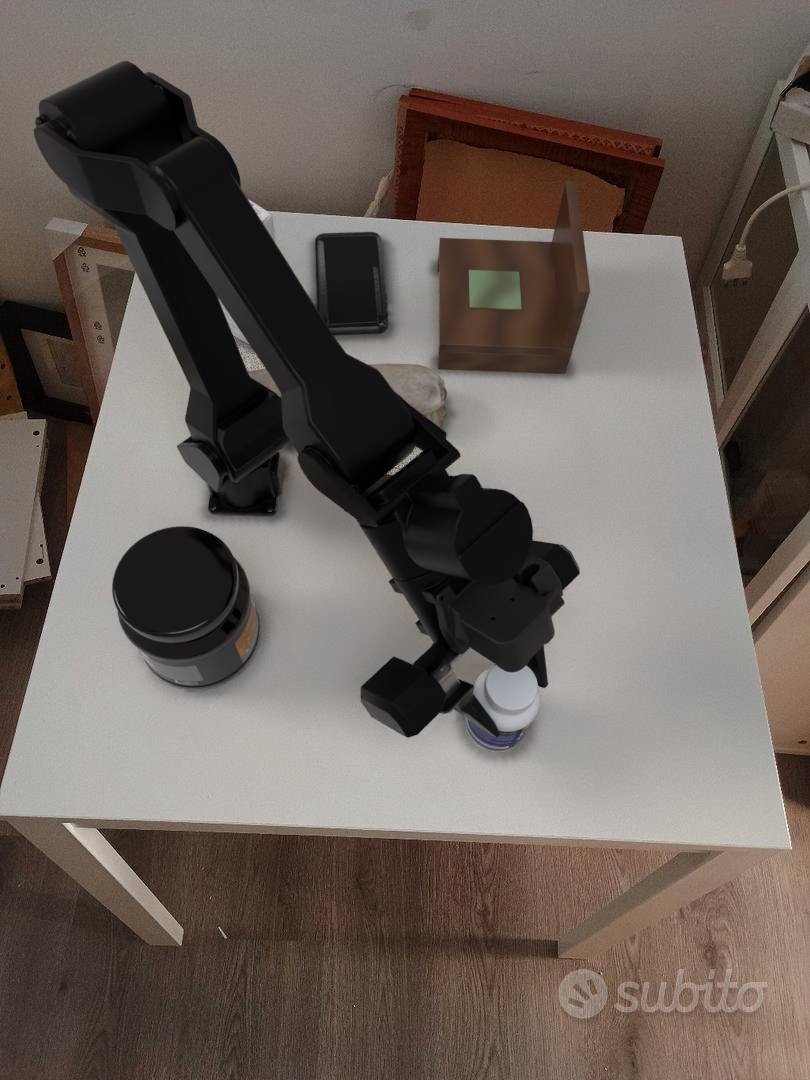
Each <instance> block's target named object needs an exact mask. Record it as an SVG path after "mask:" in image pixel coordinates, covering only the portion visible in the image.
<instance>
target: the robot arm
mask: <svg viewBox="0 0 810 1080" xmlns="http://www.w3.org/2000/svg"><path fill="white" fill-rule="evenodd" d="M195 113H196V112H195V109H194V106H193V101H192V97H191V96H190V95H189V94H188V93H186V92H185V91H183V90H181V89H180V88H178V87H176V86H175V85H174V84H172V83H170V82H169V81H168V80H165V79H164V78H163V77H161V76H160V75H158V74H156V73H154V72H152V71H146V72H143V70H142V69H141V68H139V67H138V66H137V64H135V63H133V62H131V61H129V60H122V61H120V62H118V63H116V64H113V65H111V66H109V67H107V68H105V69H103V70H100V71H98V72H96V73H94V74H92V75H90V76H88V77H86V78H84V79H82V80H79V81H77V82H76V83H74V84H72V85H69V86H68V87H65V88H63V89H61V90H59V91H57V92H55V93H52V94H50V95H49V96H46V97H44V98H42V99H40V101H39V103H38V116H36V117H35V120H34V124H35V127H34V129H33V137H34V140H35V143H36V146H37V147H38V149H39V152H40V154H41V155H42V157H43V159H44V161H45V162H46V163H47V166H48V167H49V168H50V169H51V170H52V172H53V173H54V174H55V176H56V177H57V178H59V179H60V180H61V181H62V182H63V183H64V184H65V185H66V186H67V188H68V190H69V192H70V194H71V195H72V196H73V197H74V198H75V199H77V200H78V201H80V202H81V203H83V204H84V205H86V206H87V207H89V208H90V209H92V211H94V212H96V213H97V214H99V215H100V216H102V217H103V218H104V219H106V220H107V221H108V222H110V223H111V224H112V226H113V228H114V230H115V232H116V234H117V236H118V238H119V240H120V243H121V245H122V247H123V248H124V251H125V252H126V255H127V257H128V259H129V261H130V263H131V265H132V267H133V270H134V272H135V274H136V275H137V278H138V280H139V282H140V284H141V286H142V288H143V291H144V292H145V295H146V296H147V300H148V301H149V303H150V305H151V307H152V309H153V311H154V313H155V316H156V318H157V320H158V322H159V324H160V325H161V326H160V327H161V328H162V330H163V332H164V334H165V337H166V339H167V341H168V343H169V345H170V348H171V349H172V351H173V354H174V356H175V358H176V361H177V362H178V364H179V366H180V368H181V371H182V373H183V375H184V377H185V379H186V381H187V383H188V385H189V387H190V388H189V389H190V390H189V394H188V400H187V405H186V411H185V417H184V421H185V424H186V427H187V429H188V432H189V435H190V436H189V437H187V438H186V439H184V440H183V441H182V442H180V443H178V444H177V445H176V448H177V450H178V452H179V454H180V455H181V457H182V459H183V461H184V463H185V464H186V465H187V466H188V467H189V468H190V469H191V470H193V472H195V474H197V476H198V477H199V478H201V479H202V480H203V481H204V482H205V483H206V485H207V487H208V488H207V489H208V491H209V494H210V495H209V499H208V505H207V510H208V512H209V514H211V515H223V516H224V515H225V516H226V515H227V516H255V517H257V516H259V517H272V516H275V514H276V513H277V506H278V505H277V504H278V498H279V497H281V496H282V495H283V487H284V486H283V485H284V475H285V474H284V468H283V462H282V456H281V452H280V451H281V450H283V449H285V448H286V447H287V446H288V445H290V444H291V443H292V446H293V448H294V450H295V451H296V453H297V456H296V458H297V463H298V466H299V468H300V470H301V472H302V474H303V475H304V476H305V477H306V479H307V480H308V482H309V483H310V484H311V485H312V486H313V487H314V488H315V489H316V490H317V491H318V492H320V493H321V494H322V495H323V496H325V497H326V498H327V499H329V500H330V501H331V502H332V503H333V504H335V505H336V506H338V507H339V508H340V509H342V510H343V512H345V513H347V514H348V515H350V516H351V517H352V518H354V519H355V520H356V522H357V523H358V525H359V527H360V528H361V530H362V531H363V533H364V535H365V537H366V538H367V540H368V541H369V543H370V545H371V546H372V548H373V549H374V550H375V553H376V554H377V555H378V557H379V558H380V561H381V562H382V564H383V565H384V567H385V568H386V570H387V571H388V573H389V574H390V576H391V578H390V579H389V580H388V583H389V585H390V586H391V588H392V590H393V591H394V592H395V593H397V594H400V595H403V597H404V598H405V600H406V601H407V603H408V604H409V606H410V607H411V609H412V611H413V613H414V614H415V615H416V617H417V619H418V620H417V621H415V622H414V624H415V626H416V627H417V629H418V630H419V632H420V634H422V635H425V636H428V637H429V638H430V640H431V641H432V642H433V643H432V644H431V645H430V647H429V648H427V649H426V650H425V652H423V653H422V654H421V655H420V656H419V657H418V658H417V659H416V660H414V662H413V663H411V662H409V661H406V660H403V659H401V658H399V657H397V656H394V655H393V656H392V657H391V658H390V659H389V660H388V661H386V663H384V664H383V665H382V666H381V667H380V668H379V669H378V670H377V671H376V672H375V673H374V674H373V675H371V676H370V677H369V678H368V679H367V680H366V681H365V682H364V683H363V684H362V685H360V703H361V704H362V706H363V708H364V709H365V710H366V712H367V713H368V714H369V716H370V717H371V718H373V720H376V721H377V722H379V723H381V724H382V725H385V726H386V727H388V728H389V729H392V730H393V731H395V732H396V733H398V734H400V735H402V736H403V737H405V738H407V739H409V738H412V737H416V736H418V735H419V734H421V732H422V731H423V730H424V729H425V728H426V727H428V726H429V724H430V723H431V722H432V721H433V720H434V719H436V717H437V716H438V715H439V714H442V715H447V714H449V713H451V712H452V711H453V710H454V711H455V712H456V713H458V714H459V715H461V716H462V717H464V719H465V718H467V719H468V720H470V721H471V722H473V723H474V724H476V725H477V726H478V727H480V728H481V729H483V730H484V731H486V732H487V733H488V734H490V735H492V736H494V737H496V738H498V737H499V736H500V732H499V730H498V728H497V726H496V724H495V722H494V721H493V719H492V718H491V717H490V715H489V714H488V713H487V711H486V710H485V709H484V707H483V706H482V705H481V703H480V702H479V701H478V699H477V698H476V697H475V695H474V694H473V691H474V685H475V684H472V683H470V682H468V681H466V680H463V679H461V678H458V676H457V675H456V673H455V672H454V669H453V666H454V665H455V664H456V663H457V662H458V661H459V660H460V659H461V658H463V656H464V655H465V654H467V653H468V651H470V650H471V649H472V650H473V651H474V652H476V653H477V654H479V655H481V656H482V657H484V658H485V659H487V660H489V661H490V662H492V663H493V664H495V665H497V666H498V667H499V668H501V669H502V670H504V671H506V672H517V671H520V670H521V669H523V668H524V667H525V666H528V667H529V668H530V669H531V670H532V672H533V673H534V675H535V677H536V679H537V684H538V688H539V687H540V688H542V689H546V688H547V687H548V686H549V680H548V671H547V670H548V669H547V661H546V654H545V645H546V644H549V643H550V642H551V641H552V640H553V638H554V637H555V634H556V630H555V626H554V621H553V618H552V617H554V615H555V614H556V613H557V612H558V611H559V610H560V609H561V608H562V607H563V606H564V605H565V600H564V598H563V596H564V591H565V589H566V588H567V587H568V586H569V585H570V584H572V582H573V581H574V580H575V579H576V578H577V577H579V575H580V574H581V570H580V566H579V564H578V562H577V560H576V558H575V556H574V554H573V552H572V551H571V550H570V549H569V548H568V547H566V546H565V545H563V544H560V543H553V542H547V541H540V540H535V539H534V537H533V536H534V528H533V520H532V517H531V514H530V512H529V508H527V506H526V504H525V503H524V502H523V501H521V500H520V499H519V498H517V496H516V495H514V494H513V493H511V492H510V491H507V490H506V489H500V488H490V487H482V484H481V483H480V480H479V479H478V477H477V476H476V475H475V474H472V473H460V474H457V475H449V473H448V471H447V469H448V468H449V467H450V466H452V465H453V464H454V463H455V462H456V461H457V460H459V459H460V458H461V457H462V454H461V452H460V451H459V449H457V448H456V447H455V446H454V445H453V444H452V442H450V441H449V440H448V439H447V435H448V433H447V432H446V431H445V430H444V429H442V428H441V426H440V427H439V426H437V425H436V424H435V423H433V422H432V421H431V420H429V419H428V418H427V417H425V416H424V415H423V414H422V413H420V412H419V411H418V410H416V409H415V408H414V407H412V406H411V405H410V404H408V403H407V402H406V401H405V400H404V399H403V398H402V397H401V396H400V395H398V394H397V393H396V392H394V390H393V389H392V388H391V386H390V385H389V384H388V382H387V381H386V379H385V378H384V377H383V375H382V374H381V373H380V372H379V370H377V369H376V368H374V367H372V366H370V365H368V364H367V363H366V362H364V361H362V360H360V359H358V358H356V357H354V356H352V355H350V354H348V353H347V352H346V350H345V349H344V347H342V345H341V344H340V343H339V341H338V340H337V339H336V337H335V335H333V334H332V332H331V331H330V329H329V327H328V326H327V324H326V323H325V321H324V320H323V318H322V316H321V315H320V313H319V312H318V310H317V306H316V305H315V303H314V302H313V301H312V299H311V297H310V295H309V293H307V291H306V289H305V288H304V286H303V284H302V283H301V282H300V280H299V278H298V277H297V275H296V273H295V272H294V270H293V269H292V267H291V266H290V264H289V262H288V261H287V259H286V258H285V256H284V254H283V253H282V251H281V250H280V249H279V248H280V247H279V246H278V245H277V243H275V242H276V241H275V242H274V240H273V238H272V237H271V235H270V234H269V232H268V231H267V229H266V227H265V226H264V224H263V223H262V221H261V219H260V218H259V216H258V215H257V213H256V211H255V210H254V208H253V207H252V205H251V203H250V202H249V200H250V199H249V198H248V197H247V195H246V194H245V193H244V191H243V189H242V183H241V182H242V181H241V176H240V172H239V169H238V167H237V164H236V162H235V160H234V158H233V157H232V155H231V153H230V152H229V150H228V149H227V148H226V146H225V145H224V144H223V143H222V142H221V141H220V140H219V139H218V138H216V137H215V136H214V135H212V134H211V133H209V132H207V131H206V130H205V129H203V128H201V127H199V125H198V121H197V117H196V114H195ZM248 199H249V200H248ZM217 296H218V297H217ZM218 298H219V299H220V301H221V302H222V304H223V305H224V307H225V308H226V310H227V311H228V313H229V314H230V316H231V317H232V319H233V320H234V322H235V323H236V325H237V326H238V328H239V329H240V331H241V332H242V334H243V335H244V337H245V338H246V340H247V341H248V343H249V344H250V345H249V344H248V345H249V346H250V348H251V349H252V351H253V352H254V353H255V355H256V357H257V358H258V359H259V361H260V362H261V364H262V365H263V367H264V369H266V370H267V371H268V373H269V374H270V376H271V377H272V379H273V381H274V382H275V384H276V386H277V387H278V389H279V391H280V393H281V397H279V396H278V395H277V394H276V393H275V392H273V391H272V390H270V389H269V388H267V387H265V386H264V385H262V384H261V383H259V382H257V381H256V380H254V379H253V378H251V377H250V375H249V373H248V371H249V370H248V369H247V367H246V363H245V362H244V359H243V356H242V353H241V351H240V349H239V347H238V344H237V342H236V339H235V336H234V335H233V334H232V332H231V329H230V327H229V324H228V322H227V319H226V317H225V314H224V312H223V309H222V307H221V304H220V302H219V299H218ZM290 442H291V443H290ZM415 448H418V449H419V450H421V452H420V453H418V454H417V455H416V456H414V457H413V458H412V459H411V460H410V461H408V462H407V463H406V464H405V465H403V467H402V468H400V469H399V470H398V471H396V472H395V473H394V474H388V473H389V472H390V471H392V470H393V469H394V468H396V467H397V466H398V465H399V464H400V463H402V462H403V461H404V460H405V459H407V458H408V457H409V456H410V455H411V454H413V452H414V450H415ZM213 508H214V509H213ZM270 510H271V511H270Z"/></svg>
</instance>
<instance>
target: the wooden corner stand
mask: <svg viewBox="0 0 810 1080" xmlns="http://www.w3.org/2000/svg"><path fill="white" fill-rule="evenodd" d="M438 241H439V244H438V253H437V255H438V256H437V273H438V350H437V351H438V352H437V370H447V371H448V370H450V371H476V372H477V371H479V372H502V373H503V372H507V373H532V374H533V373H534V374H535V373H536V374H537V373H538V374H562V375H563V374H564V375H565V374H566V373H567V371H568V368H569V364H570V361H571V358H572V355H573V351H574V347H575V345H576V340H577V337H578V334H579V331H580V328H581V324H582V320H583V319H584V318H583V317H584V314H585V311H586V307H587V304H588V301H589V297H590V295H591V285H590V276H589V270H588V259H587V253H586V246H585V237H584V229H583V221H582V214H581V205H580V197H579V188H578V182H577V181H568V180H567V181H565V182H564V187H563V190H562V196H561V200H560V204H559V209H558V213H557V218H556V221H555V226H554V229H553V235H552V239H551V241H542V240H541V241H540V240H539V241H538V240H535V241H534V240H514V239H513V240H511V239H509V240H508V239H486V238H485V239H482V238H481V239H480V238H458V237H457V238H456V237H439V240H438Z"/></svg>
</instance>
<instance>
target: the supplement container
mask: <svg viewBox="0 0 810 1080" xmlns="http://www.w3.org/2000/svg"><path fill="white" fill-rule="evenodd" d="M247 575H248V574H247V573H246V571H245V569H244V567H243V565H242V564H241V563H240V562H239V561H238V560H237V558H236V557H235V556H234V554H233V553H232V551H231V550H230V548H229V547H228V545H227V544H226V543H225V542H224V541H223V540H222V539H221V538H220V537H218V536H217V535H215V534H213V533H211V532H210V531H208V530H205V529H202V528H198V527H195V526H184V525H178V526H169V527H165V528H161V529H157V530H154V531H152V532H150V533H148V534H147V535H145V536H143V537H142V538H139V539H138V540H137V541H136V542H135V543H133V544H132V545H131V546H130V547H129V548H128V549H127V550H126V551H125V553H124V554H123V556H121V558H120V560H119V562H118V563H117V565H116V568H115V570H114V573H113V576H112V583H111V593H112V594H111V595H112V599H113V604H114V606H115V608H116V611H117V617H118V621H119V624H120V628H121V630H122V631H123V633H124V635H125V637H126V639H128V641H129V642H130V643H131V645H133V646H134V647H135V648H136V649H137V651H138V652H139V653H140V654H139V655H141V656H142V658H143V661H144V662H145V664H146V665H147V667H148V668H149V670H150V671H151V672H152V673H153V675H155V676H156V677H157V678H158V679H159V680H161V681H163V682H164V683H166V684H168V685H170V686H172V687H174V688H177V689H181V690H188V691H202V690H209V689H213V688H216V687H218V686H221V685H223V684H226V683H228V682H229V681H231V680H232V679H234V678H235V677H237V676H238V675H239V674H241V672H242V671H243V670H244V669H245V668H247V666H248V665H249V663H250V662H251V660H252V659H253V657H254V655H255V653H256V651H257V649H258V646H259V642H260V636H261V621H260V616H259V612H258V610H257V607H256V605H255V603H254V600H253V596H252V593H251V586H250V581H249V578H248V576H247Z"/></svg>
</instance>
